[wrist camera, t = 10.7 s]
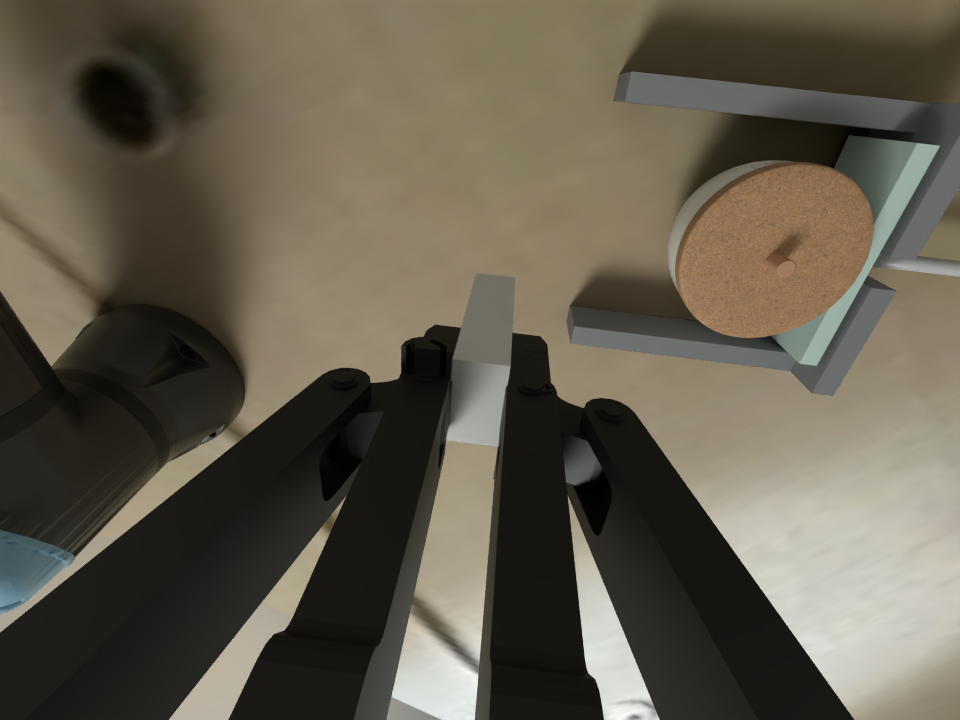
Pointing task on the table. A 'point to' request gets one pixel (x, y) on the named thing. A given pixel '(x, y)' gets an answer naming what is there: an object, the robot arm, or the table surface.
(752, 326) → the lidded jar
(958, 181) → the grey fixture frame
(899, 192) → the pusher
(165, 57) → the table surface
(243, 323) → the table surface
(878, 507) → the table surface
